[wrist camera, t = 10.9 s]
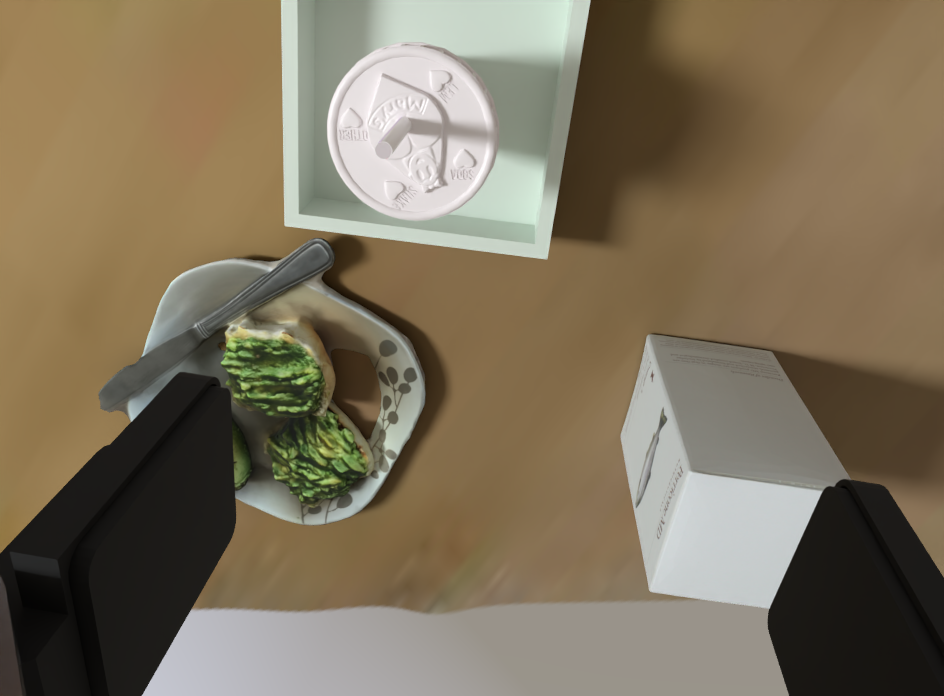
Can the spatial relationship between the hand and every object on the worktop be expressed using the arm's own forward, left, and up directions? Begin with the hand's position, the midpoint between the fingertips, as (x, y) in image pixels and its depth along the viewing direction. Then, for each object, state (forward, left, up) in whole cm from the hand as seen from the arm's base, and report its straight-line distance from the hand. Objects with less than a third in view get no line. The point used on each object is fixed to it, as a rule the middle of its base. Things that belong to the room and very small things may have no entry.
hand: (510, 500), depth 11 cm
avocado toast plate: (+13, +17, -29) cm, 36 cm away
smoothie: (+4, -1, -28) cm, 28 cm away
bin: (+5, -2, -28) cm, 28 cm away
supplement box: (-12, +13, -28) cm, 33 cm away
